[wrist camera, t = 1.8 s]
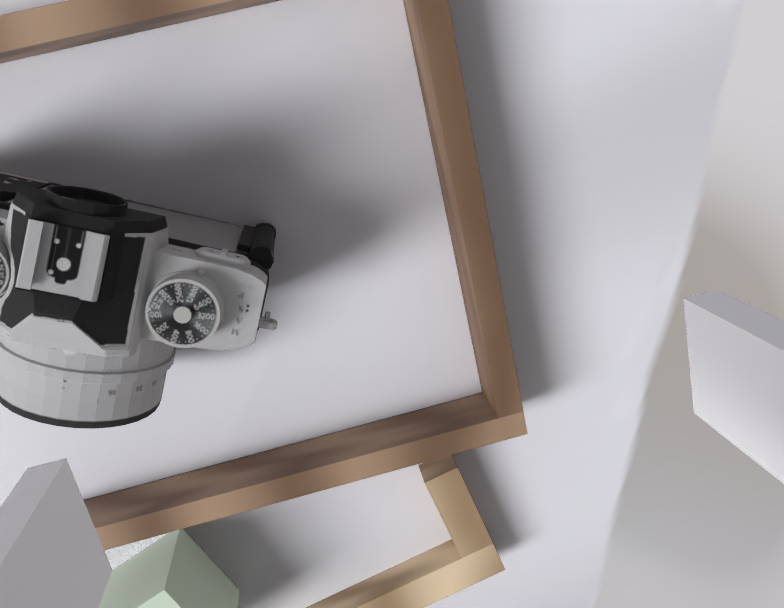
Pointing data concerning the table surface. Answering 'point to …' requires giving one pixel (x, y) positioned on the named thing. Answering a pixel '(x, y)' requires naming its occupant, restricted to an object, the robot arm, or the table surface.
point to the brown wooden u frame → (366, 442)
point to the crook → (432, 553)
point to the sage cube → (170, 578)
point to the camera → (115, 298)
